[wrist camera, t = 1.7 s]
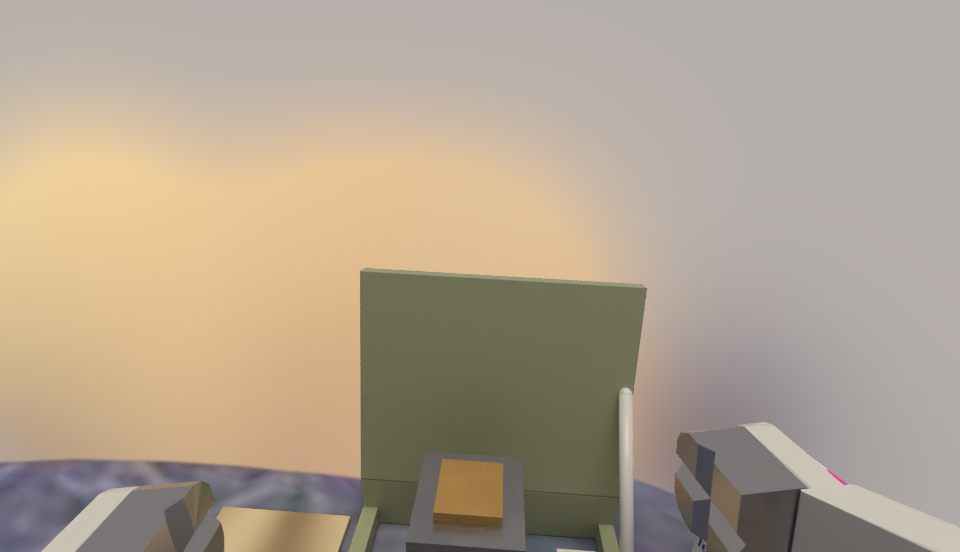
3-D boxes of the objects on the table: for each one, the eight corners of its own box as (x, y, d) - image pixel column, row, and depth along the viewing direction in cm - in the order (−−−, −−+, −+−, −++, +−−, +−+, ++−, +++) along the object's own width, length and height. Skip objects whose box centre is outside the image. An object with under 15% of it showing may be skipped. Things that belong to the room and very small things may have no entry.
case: (269, 821, 19) (168, 530, 12) (379, 476, 35) (364, 264, 28) (681, 862, 18) (840, 582, 11) (599, 492, 35) (642, 281, 28)
